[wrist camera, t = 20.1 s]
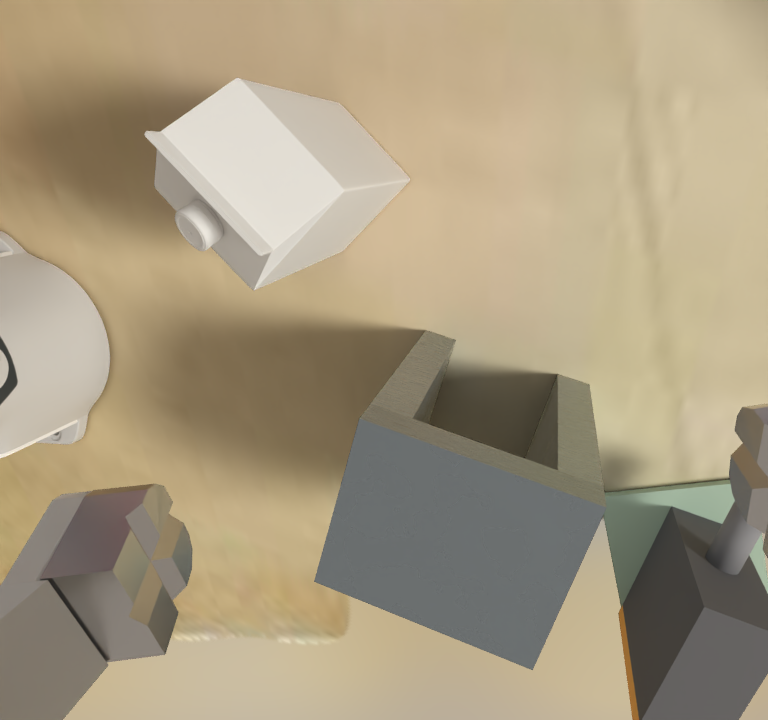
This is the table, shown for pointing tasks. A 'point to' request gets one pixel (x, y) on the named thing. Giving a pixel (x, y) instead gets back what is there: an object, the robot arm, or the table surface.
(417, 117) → the table surface
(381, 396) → the frame
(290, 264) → the milk carton
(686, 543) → the orange and grey block
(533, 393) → the table surface
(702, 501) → the pad
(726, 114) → the table surface
